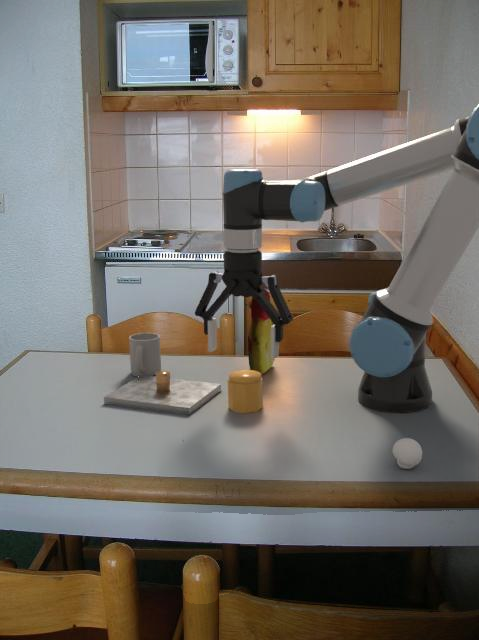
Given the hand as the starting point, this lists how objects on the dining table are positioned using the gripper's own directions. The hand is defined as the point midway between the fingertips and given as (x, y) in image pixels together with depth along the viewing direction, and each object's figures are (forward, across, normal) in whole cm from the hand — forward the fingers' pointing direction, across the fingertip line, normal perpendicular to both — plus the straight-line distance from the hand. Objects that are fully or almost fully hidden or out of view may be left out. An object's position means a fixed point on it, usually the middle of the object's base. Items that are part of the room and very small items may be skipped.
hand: (243, 353), depth 150 cm
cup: (+12, +30, -13) cm, 35 cm away
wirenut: (+11, 0, 0) cm, 11 cm away
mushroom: (+11, -37, +18) cm, 42 cm away
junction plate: (+12, +18, 0) cm, 22 cm away
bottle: (+12, +5, -25) cm, 28 cm away
